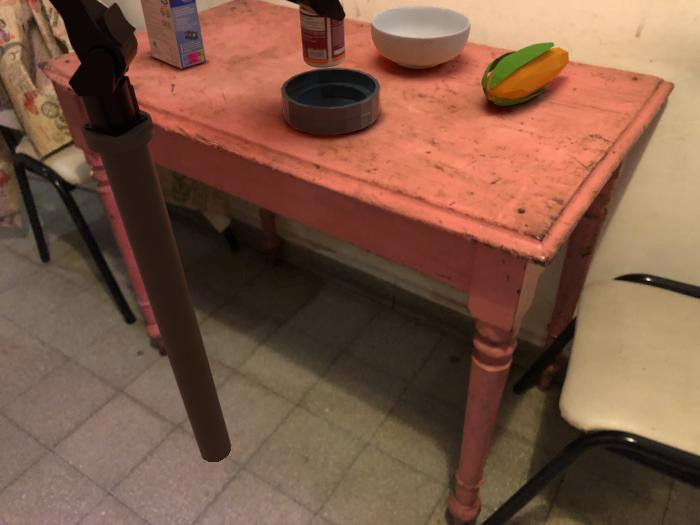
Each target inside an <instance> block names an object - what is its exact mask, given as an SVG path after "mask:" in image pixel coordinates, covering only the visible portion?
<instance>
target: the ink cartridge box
mask: <svg viewBox="0 0 700 525" xmlns="http://www.w3.org/2000/svg"><path fill="white" fill-rule="evenodd" d="M140 5H141V11H142V15H143V19H144V23H145V28H146V33H147V38H148V43H149V48H150V53H151V57H153V58H155V59H157V60H160V61H162V62H164V63H167V64H169V65H172V66H174V67H176V68H178V69H180V70H181V69H186V68H189V67H192V66H196V65H199V64H204V63H206V61H207V59H206V53H205V48H204V42H203V36H202V29H201V25H200V19H199V12H198V6H197V1H196V0H140Z"/></svg>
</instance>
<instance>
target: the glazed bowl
mask: <svg viewBox="0 0 700 525" xmlns="http://www.w3.org/2000/svg"><path fill="white" fill-rule="evenodd" d="M280 95H281V104H282V113H283V118H284V121H285V122H286V123H287V124H288V125H289V126H290V127H292V128H294V129H296V130H298V131H300V132H305V133H309V134H312V135H331V136H333V135H341V134H342V135H343V134H348V133H352V132H356V131H359V130H363V129H364V128H366V127H368V126H371V125H372V124H373V123H374V122H375V121H376V120H377V119H378V118H379V115H380V112H381V84H380V82H379V81H378V79H377V78H376V77H374V76H373V75H371V74H370V73H368V72H364V71H362V70H360V69H353V68H347V67H328V68H315V69H310V70H306V71H302V72H301V73H297V74H295V75H292V76H290V77H289V78H288V79H287V80H285V81H284V82H283V83H282V85H281V87H280Z"/></svg>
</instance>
